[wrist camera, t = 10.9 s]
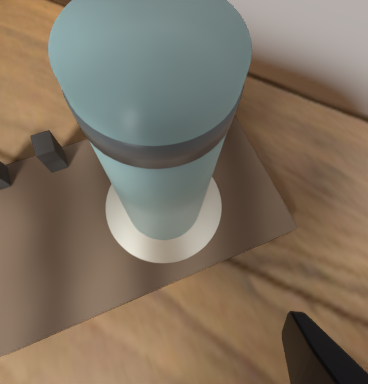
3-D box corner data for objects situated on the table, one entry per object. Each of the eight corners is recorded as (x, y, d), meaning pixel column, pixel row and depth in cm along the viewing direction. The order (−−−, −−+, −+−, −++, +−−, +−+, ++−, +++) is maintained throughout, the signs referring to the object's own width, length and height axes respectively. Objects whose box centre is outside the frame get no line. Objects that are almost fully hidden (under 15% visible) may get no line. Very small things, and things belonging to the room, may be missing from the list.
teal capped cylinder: (165, 257, 18) (152, 171, 6) (111, 205, 19) (1, 38, 7) (215, 202, 19) (293, 40, 7) (163, 157, 20) (151, -51, 8)
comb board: (12, 352, 17) (-33, 368, 13) (-18, 184, 21) (-60, 160, 17) (289, 232, 20) (316, 218, 17) (220, 107, 24) (229, 73, 20)
